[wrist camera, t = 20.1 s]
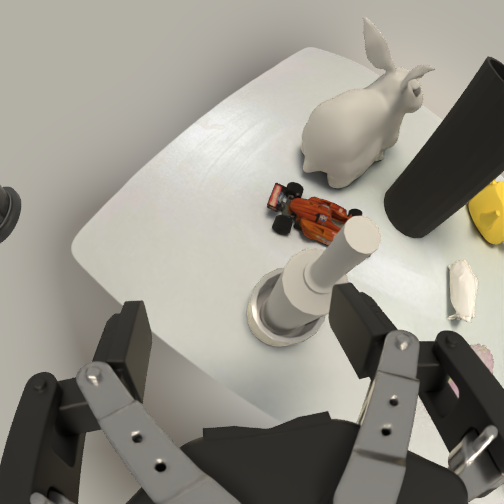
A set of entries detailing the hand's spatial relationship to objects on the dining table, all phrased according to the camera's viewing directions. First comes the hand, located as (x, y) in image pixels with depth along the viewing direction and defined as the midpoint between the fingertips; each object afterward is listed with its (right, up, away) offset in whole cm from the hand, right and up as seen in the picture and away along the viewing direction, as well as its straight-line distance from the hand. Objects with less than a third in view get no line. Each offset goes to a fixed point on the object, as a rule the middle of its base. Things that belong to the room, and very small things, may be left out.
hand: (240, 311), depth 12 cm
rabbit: (+17, +19, +36) cm, 44 cm away
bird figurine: (+34, -4, +29) cm, 45 cm away
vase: (+27, +9, +33) cm, 44 cm away
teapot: (+48, +8, +35) cm, 60 cm away
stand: (+4, -6, +26) cm, 27 cm away
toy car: (+10, +6, +31) cm, 33 cm away
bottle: (+4, -6, +25) cm, 26 cm away
